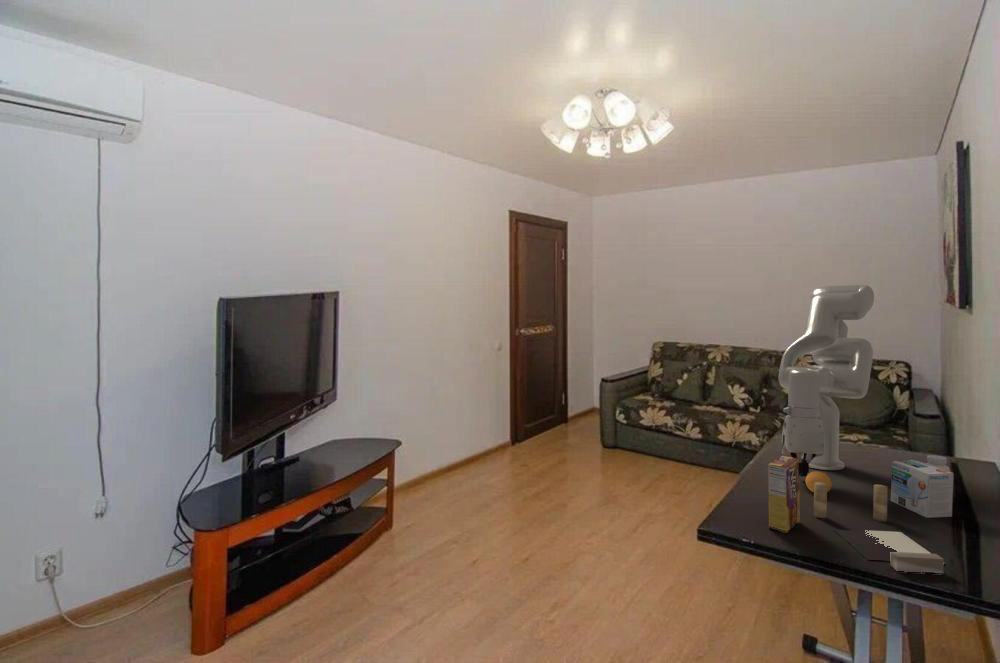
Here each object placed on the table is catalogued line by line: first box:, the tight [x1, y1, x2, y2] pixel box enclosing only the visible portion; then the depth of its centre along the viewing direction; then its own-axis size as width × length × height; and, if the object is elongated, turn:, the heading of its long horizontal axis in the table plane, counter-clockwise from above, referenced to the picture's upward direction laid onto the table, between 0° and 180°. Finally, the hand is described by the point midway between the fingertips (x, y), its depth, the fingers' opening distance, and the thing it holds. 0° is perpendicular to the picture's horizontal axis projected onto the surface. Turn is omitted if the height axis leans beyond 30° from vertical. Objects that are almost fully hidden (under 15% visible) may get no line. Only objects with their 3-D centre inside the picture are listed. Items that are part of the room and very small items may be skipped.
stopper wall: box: [889, 552, 945, 574], centre depth 97 cm, size 2×8×3 cm, turn 81°
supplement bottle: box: [924, 454, 951, 472], centre depth 136 cm, size 5×5×10 cm
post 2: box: [872, 484, 889, 523], centre depth 120 cm, size 3×3×8 cm
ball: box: [805, 470, 832, 493], centre depth 137 cm, size 6×6×6 cm
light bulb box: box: [890, 459, 954, 519], centre depth 126 cm, size 11×7×11 cm, turn 5°
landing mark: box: [864, 529, 932, 554], centre depth 107 cm, size 14×14×1 cm
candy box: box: [767, 455, 801, 531], centre depth 117 cm, size 9×4×15 cm, turn 133°
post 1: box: [813, 482, 828, 519], centre depth 122 cm, size 3×3×8 cm
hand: (801, 475), depth 146 cm, fingers closed
